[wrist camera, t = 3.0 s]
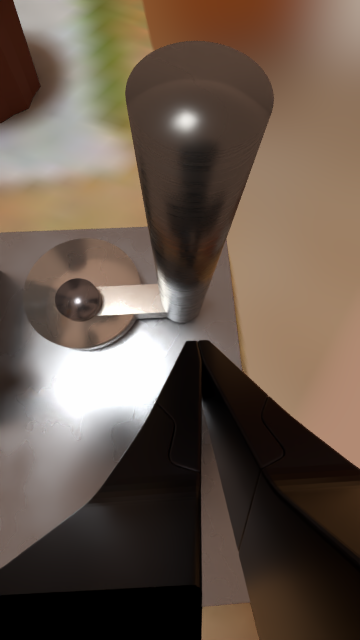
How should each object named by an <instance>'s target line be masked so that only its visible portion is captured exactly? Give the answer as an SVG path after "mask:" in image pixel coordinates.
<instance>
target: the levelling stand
mask: <svg viewBox="0 0 360 640" xmlns="http://www.w3.org/2000/svg"><path fill="white" fill-rule="evenodd" d="M82 238H92V239H99V240H103V241H106V242H109V243H111V244H113V245H115V246H117V247H119V248H120V249H121V250H123V251H124V252H125V253H126V254H127V255H128V256H129V257H130V259H131V260H132V261H133V263H134V265H135V267H136V269H137V272H138V274H139V277H140V280H141V284H142V285H146V284H158V281H157V275H156V270H155V264H154V258H153V252H152V247H151V241H150V235H149V230H148V227H132V228H107V229H82V230H57V231H32V232H7V233H0V568H2V567H3V566H5V565H6V564H7V563H9V562H10V561H11V560H13V559H14V558H15V557H17V556H18V555H19V554H21V553H22V552H23V551H25V550H26V549H27V548H29V547H30V546H31V545H32V544H34V543H35V542H36V541H38V540H39V539H40V538H42V537H43V536H44V535H46V534H47V533H48V532H50V531H51V530H52V529H54V528H55V527H56V526H57V525H59V524H60V523H61V522H63V521H64V520H65V519H67V518H68V517H69V516H71V515H72V514H73V513H75V512H76V511H77V510H79V509H80V508H81V507H82V506H84V505H85V504H86V503H87V502H88V501H89V500H90V499H91V498H92V497H93V496H94V495H95V494H96V492H97V491H98V490H99V489H100V487H101V486H102V485H103V483H104V482H105V481H106V479H107V478H108V476H109V475H110V473H111V472H112V470H113V469H114V467H115V466H116V465H117V463H118V462H119V460H120V459H121V457H122V456H123V454H124V453H125V451H126V450H127V449H128V447H129V446H130V444H131V443H132V441H133V440H134V438H135V437H136V435H137V433H138V432H139V430H140V429H141V427H142V426H143V424H144V422H145V420H146V418H147V417H148V415H149V413H150V411H151V409H152V407H153V405H154V403H155V401H156V399H157V397H158V395H159V393H160V391H161V389H162V387H163V385H164V383H165V381H166V379H167V378H168V376H169V374H170V372H171V370H172V368H173V366H174V364H175V362H176V360H177V358H178V356H179V354H180V352H181V350H182V348H183V346H184V344H185V342H186V341H194V340H195V341H197V342H198V340H209V341H210V342H211V343H213V344H214V345H215V346H216V347H217V348H218V349H219V350H220V351H221V352H222V353H223V354H224V355H225V356H226V357H228V358H229V359H230V360H231V361H232V362H233V363H234V364H235V365H236V366H237V367H238V368H239V369H240V370H242V367H241V358H240V350H239V341H238V333H237V324H236V316H235V308H234V299H233V291H232V282H231V274H230V265H229V257H228V249H227V240H226V241H225V243H224V246H223V249H222V252H221V255H220V257H219V260H218V263H217V266H216V269H215V271H214V274H213V277H212V280H211V282H210V285H209V288H208V291H207V294H206V296H205V299H204V302H203V305H202V308H201V310H200V313H199V314H198V316H197V317H196V318H195V319H193V320H191V321H189V322H186V323H178V322H174V321H172V320H170V319H169V318H168V317H162V318H143V319H136V321H135V323H134V324H133V326H132V327H131V328H130V329H129V330H128V332H127V333H125V334H124V335H123V336H122V337H121V338H119V339H118V340H117V341H115V342H113V343H111V344H109V345H107V346H104V347H102V348H98V349H92V350H76V349H71V348H67V347H64V346H61V345H57V344H55V343H52V342H50V341H48V340H47V339H45V338H44V337H42V336H41V335H40V334H39V333H37V331H36V330H35V329H34V328H33V327H32V325H31V324H30V322H29V321H28V318H27V316H26V314H25V310H24V305H23V290H24V285H25V282H26V279H27V276H28V274H29V272H30V270H31V269H32V267H33V266H34V264H35V263H36V262H37V261H38V259H40V258H41V257H42V256H43V255H44V254H45V253H46V252H47V251H49V250H50V249H52V248H54V247H55V246H57V245H59V244H61V243H64V242H67V241H70V240H75V239H82ZM201 528H202V607H206V606H216V605H227V604H238V603H249V602H250V599H249V595H248V591H247V587H246V583H245V579H244V574H243V570H242V566H241V562H240V558H239V551H238V550H237V545H236V541H235V537H234V533H233V529H232V525H231V521H230V517H229V513H228V508H227V504H226V500H225V496H224V492H223V488H222V484H221V480H220V475H219V471H218V467H217V463H216V459H215V455H214V451H213V447H212V443H211V438H210V434H209V430H208V426H207V422H206V418H205V414H204V410H203V405H202V451H201Z"/></svg>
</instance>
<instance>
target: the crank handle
mask: <svg viewBox="0 0 360 640" xmlns="http://www.w3.org/2000/svg"><path fill="white" fill-rule="evenodd" d="M125 95H126V104H127V109H128V115H129V121H130V127H131V132H132V138H133V144H134V149H135V155H136V161H137V167H138V172H139V178H140V184H141V190H142V195H143V201H144V207H145V212H146V218H147V224H148V230H149V235H150V241H151V247H152V252H153V258H154V264H155V270H156V275H157V281H158V284H146V285H142V284H141V280H140V277H139V274H138V272H137V269H136V267H135V265H134V263H133V261H132V260H131V259H130V257H129V256H128V255H127V254H126V253H125V252H124V251H123V250H121V249H120V248H119V247H117V246H115V245H113V244H111V243H109V242H106V241H103V240H99V239H92V238H82V239H75V240H70V241H67V242H64V243H61V244H59V245H57V246H55V247H54V248H52V249H50V250H49V251H47V252H46V253H45V254H44V255H43V256H42V257H41V258H40V259H38V261H37V262H36V263H35V264H34V266H33V267H32V269H31V270H30V272H29V274H28V276H27V279H26V282H25V285H24V290H23V305H24V310H25V314H26V316H27V318H28V321H29V322H30V324H31V325H32V327H33V328H34V329H35V330H36V331H37V333H39V334H40V335H41V336H42V337H44V338H45V339H47V340H48V341H50V342H52V343H55V344H57V345H61V346H64V347H67V348H71V349H76V350H92V349H98V348H102V347H104V346H107V345H109V344H111V343H113V342H115V341H117V340H118V339H119V338H121V337H122V336H123V335H124V334H125V333H127V332H128V330H129V329H130V328H131V327H132V326H133V324H134V323H135V321H136V319H143V318H162V317H168V318H169V319H170V320H172V321H174V322H178V323H186V322H189V321H191V320H193V319H195V318H196V317H197V316H198V314H199V313H200V310H201V308H202V305H203V302H204V299H205V296H206V294H207V291H208V288H209V285H210V282H211V280H212V277H213V274H214V271H215V269H216V266H217V263H218V260H219V257H220V255H221V252H222V249H223V246H224V243H225V241H226V238H227V235H228V232H229V229H230V227H231V224H232V221H233V218H234V215H235V213H236V210H237V207H238V204H239V202H240V199H241V196H242V193H243V190H244V188H245V185H246V182H247V179H248V177H249V174H250V171H251V168H252V165H253V163H254V160H255V157H256V154H257V151H258V148H259V146H260V143H261V140H262V138H263V135H264V132H265V129H266V126H267V123H268V121H269V118H270V115H271V113H272V108H273V101H274V97H273V90H272V86H271V83H270V81H269V79H268V77H267V75H266V74H265V72H264V71H263V70H262V68H261V67H260V66H259V65H258V64H257V63H256V62H255V61H253V60H252V59H251V58H250V57H248V56H247V55H245V54H243V53H242V52H239V51H238V50H235V49H233V48H231V47H228V46H225V45H221V44H218V43H213V42H205V41H186V42H179V43H175V44H171V45H167V46H164V47H162V48H159V49H157V50H155V51H153V52H152V53H150V54H148V55H147V56H146V57H144V58H143V59H142V60H141V61H140V62H139V63H138V64H137V65H136V66H135V67H134V69H133V70H132V72H131V74H130V76H129V78H128V81H127V85H126V92H125Z"/></svg>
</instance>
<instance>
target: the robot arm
mask: <svg viewBox="0 0 360 640" xmlns="http://www.w3.org/2000/svg"><path fill="white" fill-rule="evenodd" d="M202 405H203V410H204V414H205V418H206V422H207V426H208V430H209V434H210V438H211V443H212V447H213V451H214V455H215V459H216V463H217V467H218V471H219V475H220V480H221V484H222V488H223V492H224V496H225V500H226V504H227V508H228V513H229V517H230V521H231V525H232V529H233V533H234V537H235V541H236V545H237V550H238V551H239V558H240V562H241V566H242V570H243V574H244V579H245V583H246V587H247V591H248V595H249V599H250V603H251V607H252V611H253V616H254V620H255V624H256V628H257V632H258V636H259V640H360V469H359V468H358V467H356V466H355V465H353V464H352V463H351V462H349V461H348V460H347V459H345V458H344V457H343V456H342V455H340V454H339V453H338V452H337V451H335V450H334V449H333V448H331V447H330V446H329V445H327V444H326V443H325V442H324V441H322V440H321V439H320V438H318V437H317V436H316V435H314V434H313V433H312V432H310V431H309V430H308V429H307V428H305V427H304V426H303V425H302V424H300V423H299V422H298V421H297V420H295V419H294V418H293V417H292V416H290V414H288V413H287V412H286V411H285V410H284V409H283V408H281V407H280V406H279V405H278V404H277V403H276V402H275V401H274V400H273V399H272V398H270V397H268V395H267V394H266V393H265V392H264V391H263V390H262V389H261V388H260V387H259V386H258V385H257V384H255V383H254V382H253V381H252V380H251V379H250V378H249V377H248V376H247V375H246V374H245V373H244V372H243V371H242V370H240V369H239V368H238V367H237V366H236V365H235V364H234V363H233V362H232V361H231V360H230V359H229V358H228V357H226V356H225V355H224V354H223V353H222V352H221V351H220V350H219V349H218V348H217V347H216V346H215V345H214V344H213V343H211V342H210V341H209V340H198V342H197V341H195V340H194V341H186V342H185V344H184V346H183V348H182V350H181V352H180V354H179V356H178V358H177V360H176V362H175V364H174V366H173V368H172V370H171V372H170V374H169V376H168V378H167V379H166V381H165V383H164V385H163V387H162V389H161V391H160V393H159V395H158V397H157V399H156V401H155V403H154V405H153V407H152V409H151V411H150V413H149V415H148V417H147V418H146V420H145V422H144V424H143V426H142V427H141V429H140V430H139V432H138V433H137V435H136V437H135V438H134V440H133V441H132V443H131V444H130V446H129V447H128V449H127V450H126V451H125V453H124V454H123V456H122V457H121V459H120V460H119V462H118V463H117V465H116V466H115V467H114V469H113V470H112V472H111V473H110V475H109V476H108V478H107V479H106V481H105V482H104V483H103V485H102V486H101V487H100V489H99V490H98V491H97V492H96V494H95V495H94V496H93V497H92V498H91V499H90V500H89V501H88V502H87V503H86V504H85V505H84V506H82V507H81V508H80V509H79V510H77V511H76V512H75V513H73V514H72V515H71V516H69V517H68V518H67V519H65V520H64V521H63V522H61V523H60V524H59V525H57V526H56V527H55V528H54V529H52V530H51V531H50V532H48V533H47V534H46V535H44V536H43V537H42V538H40V539H39V540H38V541H36V542H35V543H34V544H32V545H31V546H30V547H29V548H27V549H26V550H25V551H23V552H22V553H21V554H19V555H18V556H17V557H15V558H14V559H13V560H11V561H10V562H9V563H7V564H6V565H5V566H3V567H2V568H0V640H201V628H202V528H201V451H202Z"/></svg>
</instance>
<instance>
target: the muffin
mask: <svg viewBox="0 0 360 640" xmlns="http://www.w3.org/2000/svg"><path fill="white" fill-rule="evenodd" d="M40 87H41V86H40V83H39V80H38V77H37V74H36V71H35V67H34V64H33V61H32V58H31V55H30V52H29V49H28V46H27V42H26V39H25V36H24V33H23V30H22V27H21V24H20V21H19V17H18V14H17V11H16V8H15V5H14V2H13V0H0V123H2V122H3V121H5V120H7V119H8V118H10V117H11V116H13V115H15V114H17V113H19V112H22V111H24V110H26V109H28V108H29V106H30V104H31V101H32V99H33V97H34V95H35V94H36V92H37V91H38V89H39V88H40Z"/></svg>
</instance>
